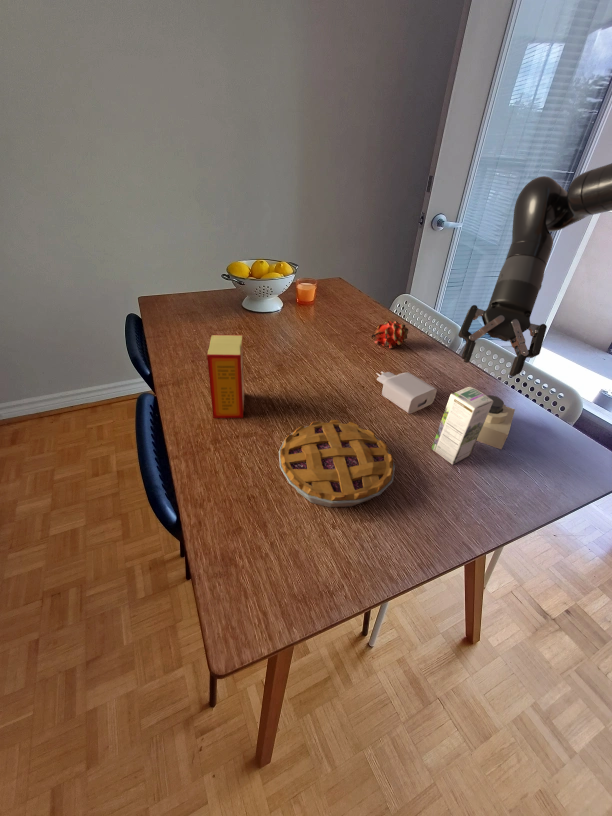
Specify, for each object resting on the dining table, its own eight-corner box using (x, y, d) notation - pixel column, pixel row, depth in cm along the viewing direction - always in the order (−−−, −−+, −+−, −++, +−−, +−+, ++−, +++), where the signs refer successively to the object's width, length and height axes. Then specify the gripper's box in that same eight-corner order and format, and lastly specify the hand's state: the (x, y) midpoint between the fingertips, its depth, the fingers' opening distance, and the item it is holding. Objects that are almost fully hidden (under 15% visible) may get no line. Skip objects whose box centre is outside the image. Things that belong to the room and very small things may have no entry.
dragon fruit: (407, 350, 124) (371, 357, 122) (399, 326, 126) (363, 333, 124) (417, 337, 116) (378, 345, 114) (408, 312, 118) (369, 319, 116)
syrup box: (448, 440, 86) (468, 384, 78) (471, 456, 82) (494, 399, 74) (430, 449, 83) (449, 392, 75) (453, 466, 80) (475, 408, 71)
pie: (267, 441, 82) (267, 422, 79) (364, 428, 88) (368, 409, 85) (294, 526, 66) (295, 506, 63) (412, 503, 71) (418, 483, 68)
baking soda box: (217, 394, 95) (211, 332, 86) (244, 394, 96) (242, 333, 87) (213, 418, 88) (206, 353, 78) (243, 417, 88) (240, 354, 79)
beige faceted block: (508, 423, 93) (518, 402, 89) (501, 449, 85) (511, 428, 81) (465, 409, 96) (472, 388, 93) (454, 432, 89) (462, 411, 85)
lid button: (502, 407, 88) (505, 399, 87) (499, 416, 85) (502, 409, 84) (481, 400, 90) (484, 392, 89) (478, 409, 87) (480, 402, 85)
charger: (389, 375, 107) (433, 403, 98) (364, 385, 103) (407, 415, 93) (393, 360, 104) (438, 387, 95) (367, 369, 100) (411, 398, 90)
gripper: (547, 304, 77) (520, 383, 77) (473, 284, 79) (447, 360, 79) (566, 290, 70) (536, 377, 69) (484, 269, 72) (455, 353, 72)
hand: (489, 368), depth 74 cm, fingers open, 8 cm apart
